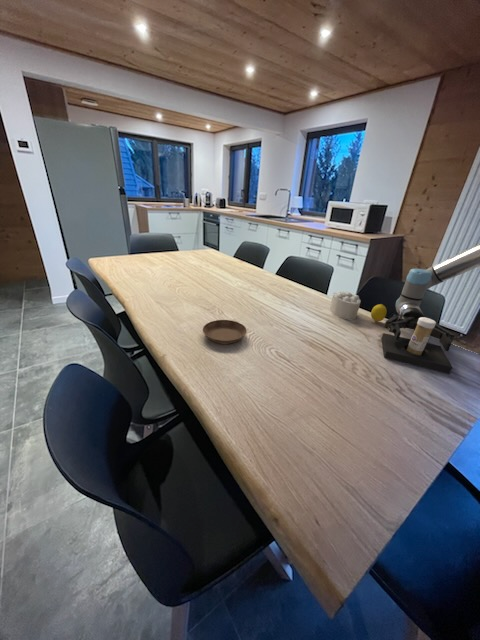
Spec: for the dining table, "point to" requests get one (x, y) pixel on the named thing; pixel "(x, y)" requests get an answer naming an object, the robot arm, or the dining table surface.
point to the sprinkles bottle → (421, 335)
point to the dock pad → (428, 359)
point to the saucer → (224, 331)
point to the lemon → (378, 312)
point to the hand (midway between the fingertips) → (422, 341)
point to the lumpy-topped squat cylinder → (345, 305)
